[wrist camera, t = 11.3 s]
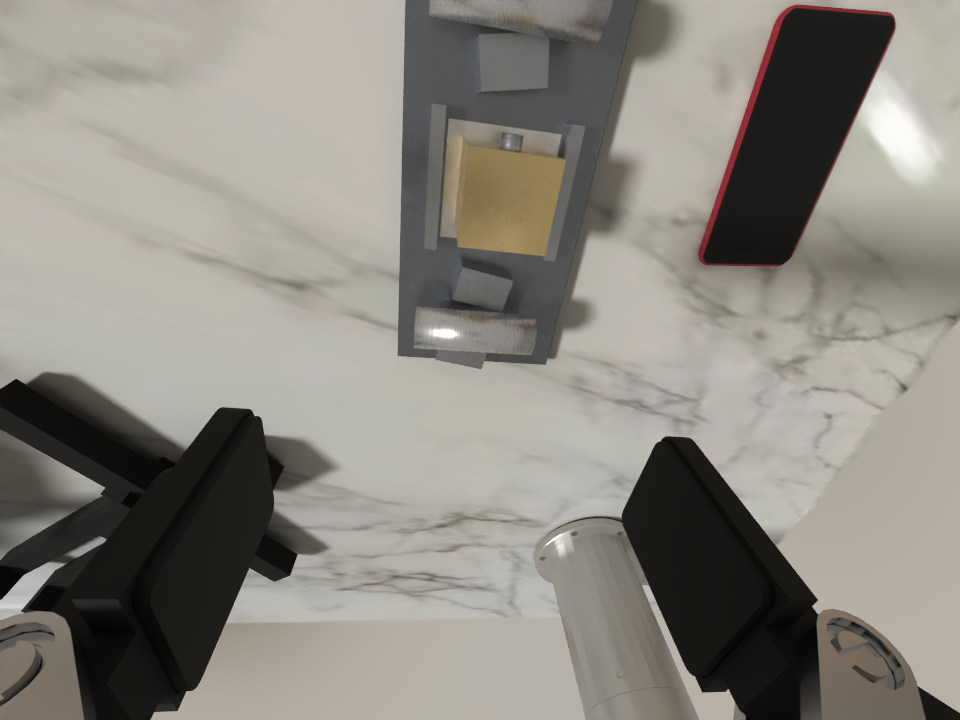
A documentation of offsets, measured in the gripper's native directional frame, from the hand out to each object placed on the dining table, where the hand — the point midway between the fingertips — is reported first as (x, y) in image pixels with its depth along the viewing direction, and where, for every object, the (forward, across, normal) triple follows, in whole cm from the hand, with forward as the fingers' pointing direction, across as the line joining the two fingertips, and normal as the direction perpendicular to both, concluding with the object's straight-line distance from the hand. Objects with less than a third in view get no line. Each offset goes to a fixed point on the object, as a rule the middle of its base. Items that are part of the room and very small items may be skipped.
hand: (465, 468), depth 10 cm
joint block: (+20, -3, -4) cm, 21 cm away
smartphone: (+22, -21, -8) cm, 32 cm away
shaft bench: (+21, -3, -4) cm, 22 cm away
